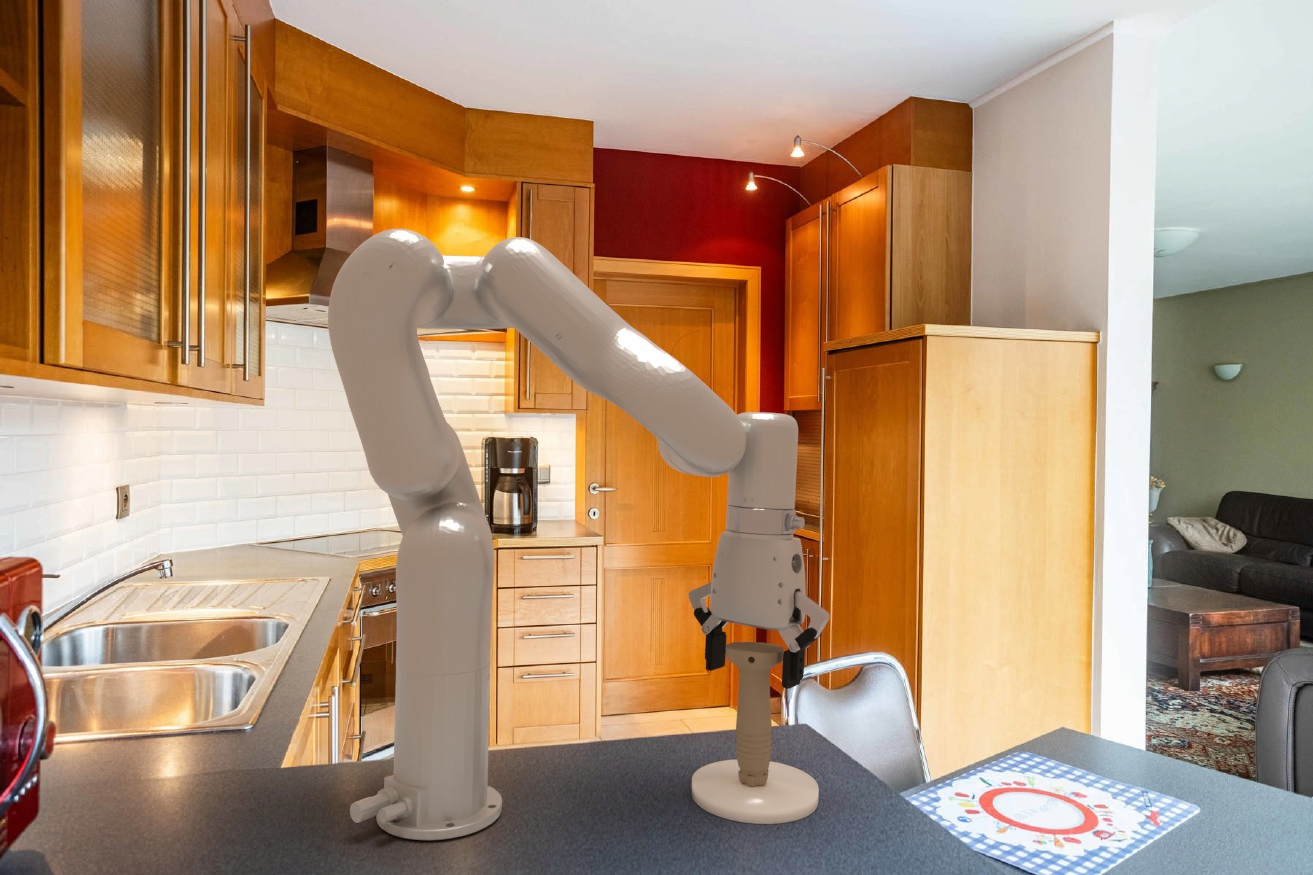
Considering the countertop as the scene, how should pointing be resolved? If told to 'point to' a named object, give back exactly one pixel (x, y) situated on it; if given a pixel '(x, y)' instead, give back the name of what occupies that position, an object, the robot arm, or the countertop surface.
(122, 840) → the countertop surface
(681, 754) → the countertop surface
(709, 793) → the plate
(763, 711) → the handle
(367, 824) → the countertop surface
